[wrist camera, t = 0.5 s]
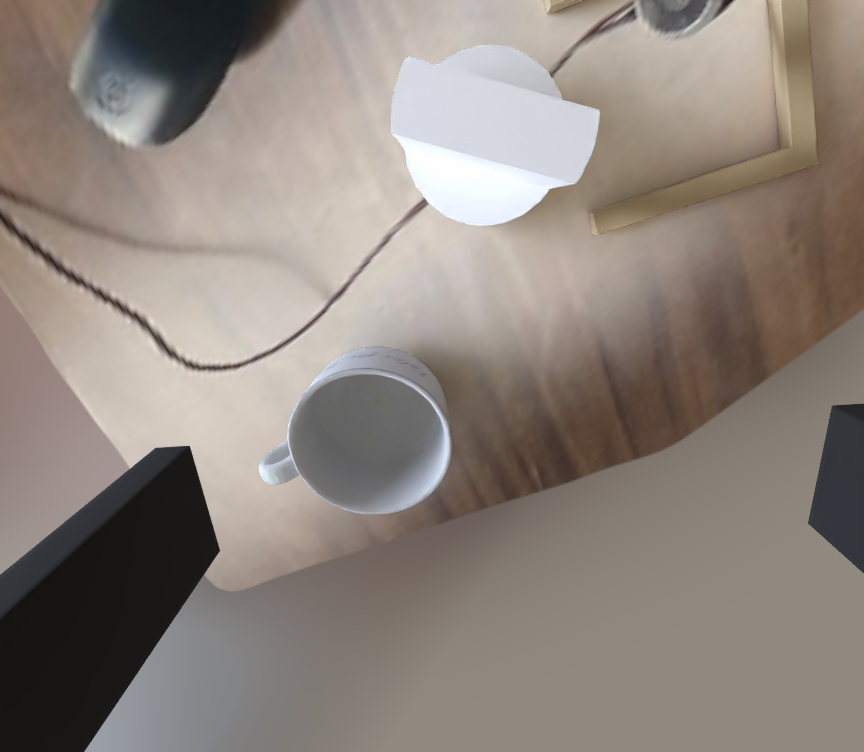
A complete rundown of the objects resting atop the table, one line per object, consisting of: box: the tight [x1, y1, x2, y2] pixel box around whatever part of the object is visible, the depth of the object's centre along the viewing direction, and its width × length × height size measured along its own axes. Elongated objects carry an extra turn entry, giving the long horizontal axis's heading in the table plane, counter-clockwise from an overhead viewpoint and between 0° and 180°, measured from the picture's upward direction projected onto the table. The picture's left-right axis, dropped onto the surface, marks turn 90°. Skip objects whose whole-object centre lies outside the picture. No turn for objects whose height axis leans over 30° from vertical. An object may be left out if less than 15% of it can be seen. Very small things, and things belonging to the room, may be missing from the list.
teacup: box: [259, 347, 452, 514], centre depth 35 cm, size 14×11×8 cm
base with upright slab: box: [390, 44, 600, 226], centre depth 26 cm, size 9×9×12 cm
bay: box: [544, 0, 818, 235], centre depth 30 cm, size 15×14×1 cm
